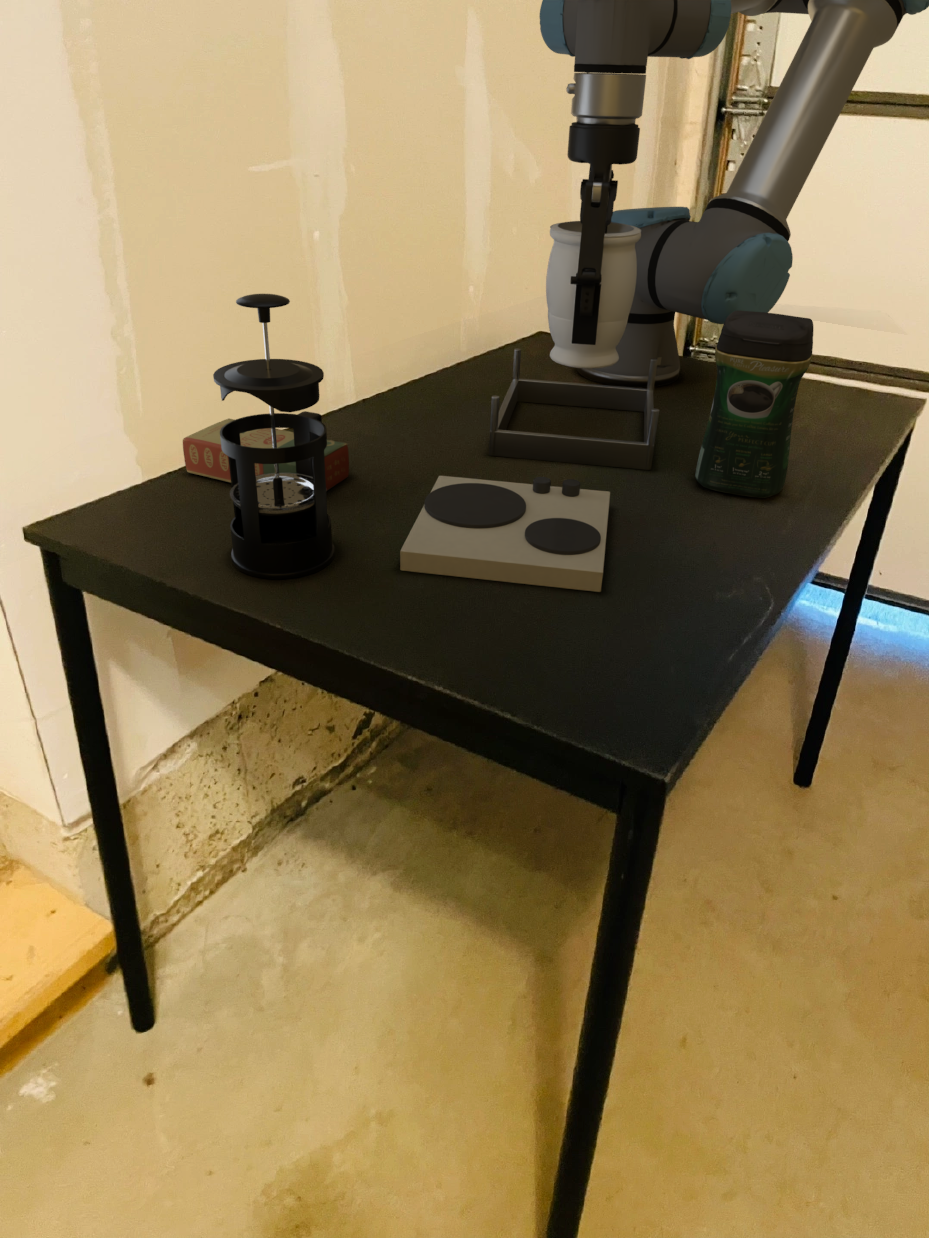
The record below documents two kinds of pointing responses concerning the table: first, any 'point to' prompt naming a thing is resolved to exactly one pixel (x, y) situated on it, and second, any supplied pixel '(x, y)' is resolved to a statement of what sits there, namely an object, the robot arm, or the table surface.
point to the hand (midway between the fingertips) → (586, 331)
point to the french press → (277, 496)
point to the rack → (574, 446)
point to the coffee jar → (754, 402)
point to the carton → (212, 462)
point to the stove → (511, 533)
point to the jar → (613, 295)
